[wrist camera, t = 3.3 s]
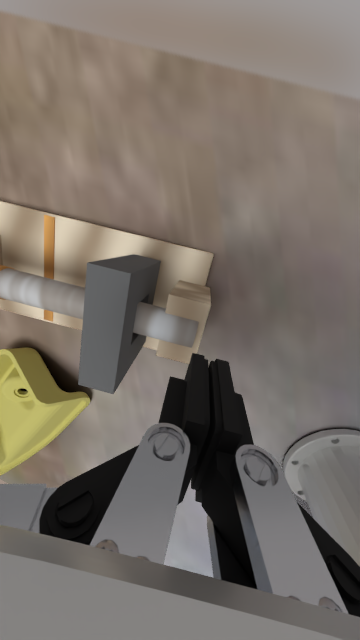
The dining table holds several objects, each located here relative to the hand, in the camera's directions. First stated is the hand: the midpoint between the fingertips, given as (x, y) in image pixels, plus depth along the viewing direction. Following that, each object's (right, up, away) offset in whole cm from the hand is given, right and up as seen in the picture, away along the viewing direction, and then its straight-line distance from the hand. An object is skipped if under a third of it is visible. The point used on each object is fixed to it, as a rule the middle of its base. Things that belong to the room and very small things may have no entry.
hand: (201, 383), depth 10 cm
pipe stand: (-10, +7, +13) cm, 18 cm away
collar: (-5, +5, +10) cm, 12 cm away
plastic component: (-23, -9, +21) cm, 32 cm away
